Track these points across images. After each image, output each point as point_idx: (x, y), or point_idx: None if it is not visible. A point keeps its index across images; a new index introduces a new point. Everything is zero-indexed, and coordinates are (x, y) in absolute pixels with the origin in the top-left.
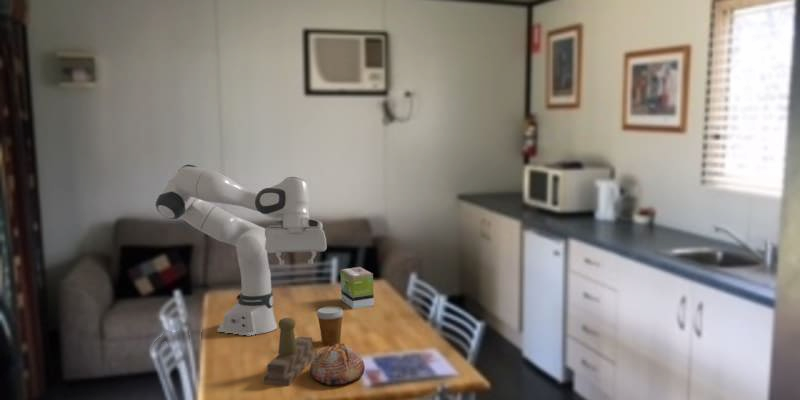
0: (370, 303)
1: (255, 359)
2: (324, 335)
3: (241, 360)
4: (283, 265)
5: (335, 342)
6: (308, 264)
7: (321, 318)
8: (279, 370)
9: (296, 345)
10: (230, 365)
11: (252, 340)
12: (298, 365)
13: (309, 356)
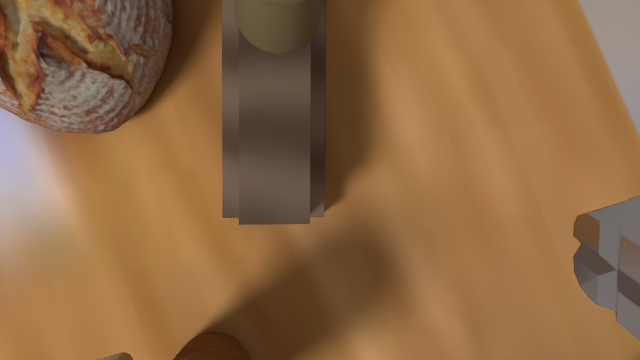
0: None
1: (450, 136)
2: (224, 347)
3: (498, 120)
4: (580, 235)
5: (42, 55)
6: (123, 353)
7: None
8: None
9: (237, 6)
10: (517, 65)
11: (546, 341)
12: (234, 23)
13: (224, 129)
